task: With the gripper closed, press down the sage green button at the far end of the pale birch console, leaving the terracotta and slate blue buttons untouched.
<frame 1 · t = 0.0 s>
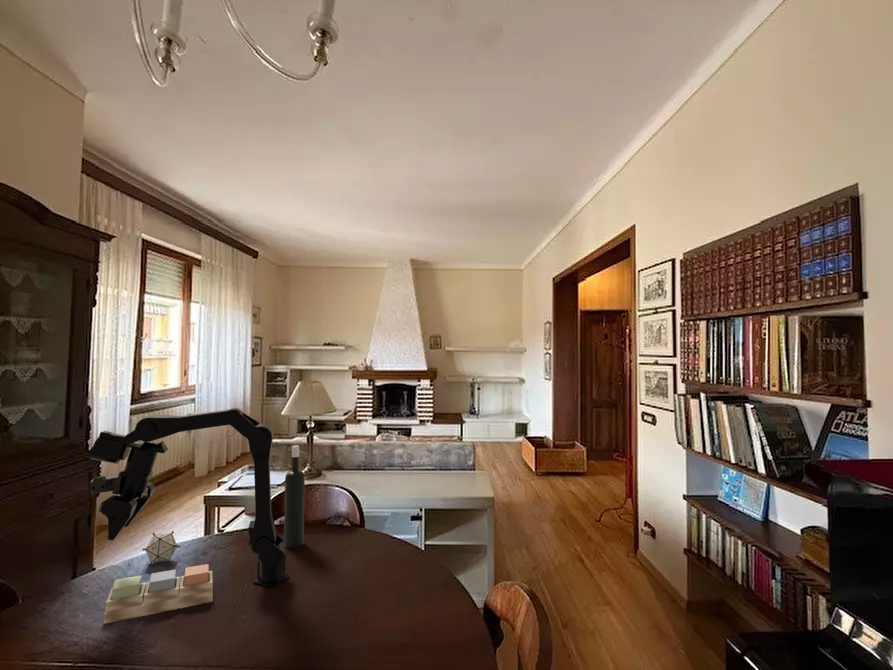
hand: (118, 532, 113), 15 cm above the table, tool pointing down, fingers open, 9 cm apart
slate button: (162, 582, 111), point 5 cm above the table, slide at 0.0 cm
terracotta button: (196, 576, 114), point 5 cm above the table, slide at 0.0 cm
console: (162, 603, 111), on the table
sage button: (127, 588, 108), point 5 cm above the table, slide at 0.0 cm
game die: (161, 563, 133), on the table
wine bottle: (293, 545, 146), on the table
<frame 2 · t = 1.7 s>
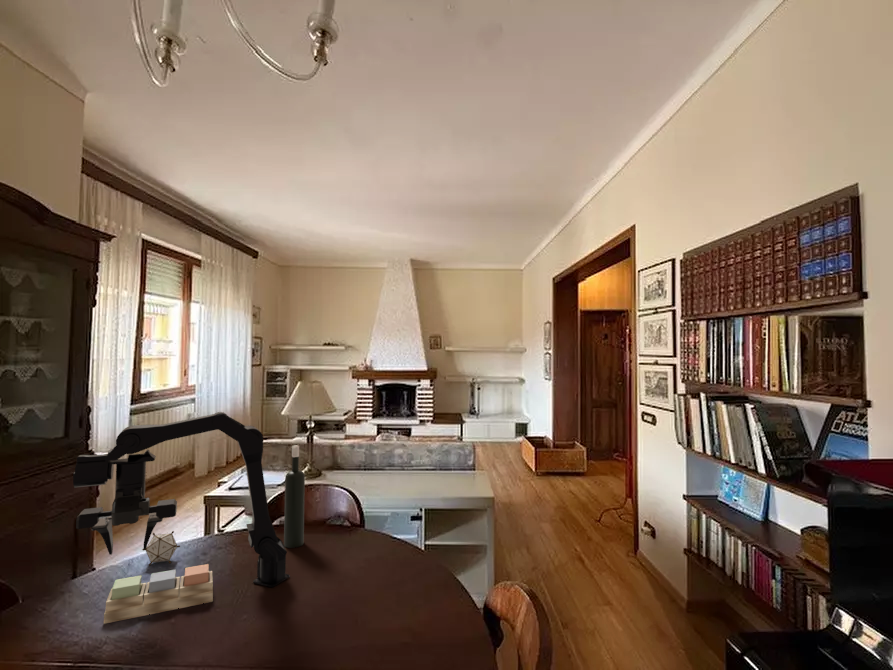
hand: (128, 551, 108), 13 cm above the table, tool pointing down, fingers open, 6 cm apart
nothing on the table moved.
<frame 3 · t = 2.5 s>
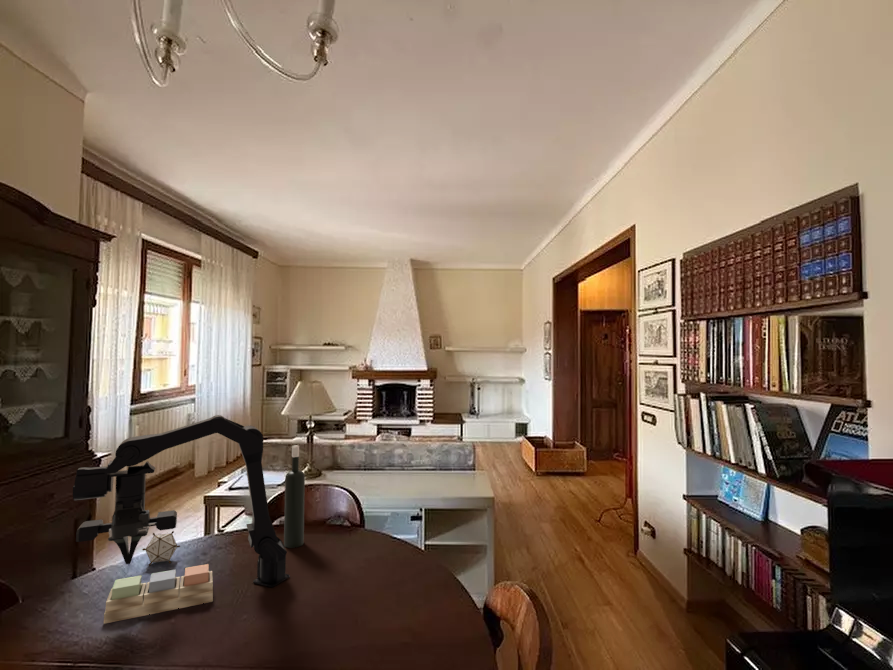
hand: (128, 563, 108), 10 cm above the table, tool pointing down, fingers closed
nothing on the table moved.
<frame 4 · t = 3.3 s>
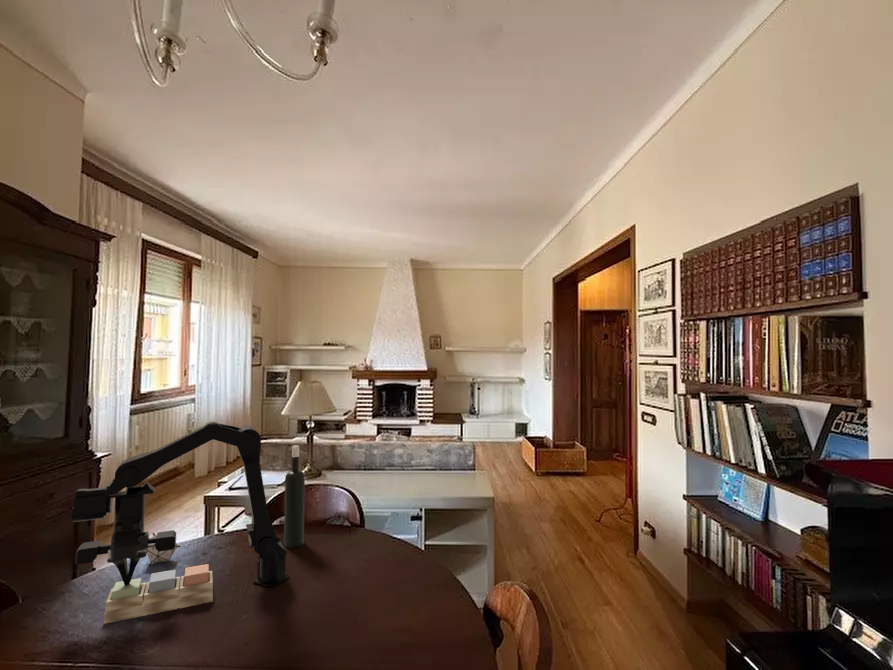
hand: (127, 584, 108), 6 cm above the table, tool pointing down, fingers closed, pressing on sage button
sage button: (126, 591, 108), point 4 cm above the table, slide at 0.6 cm, touching gripper
everything else where it was.
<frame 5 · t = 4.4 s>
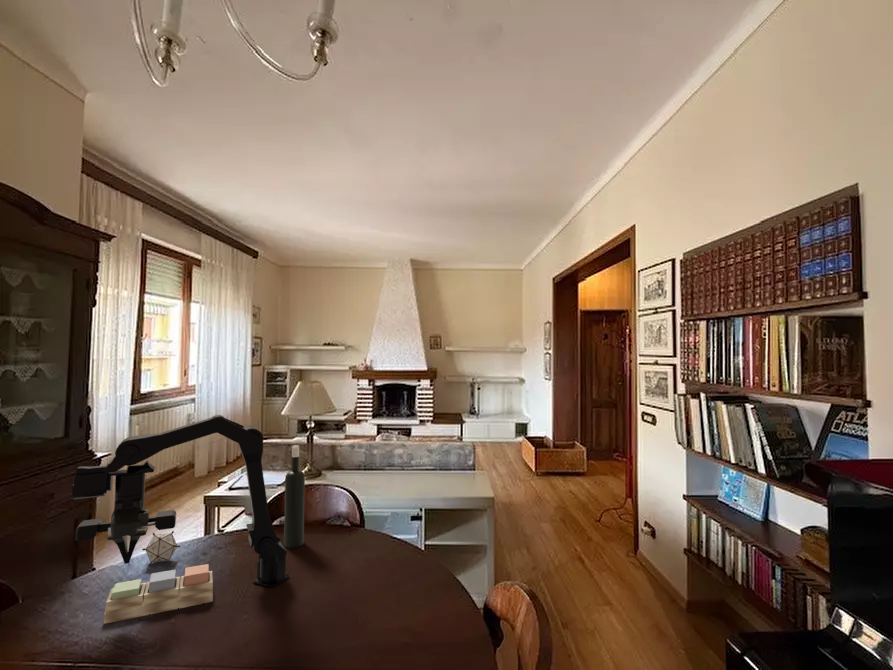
hand: (127, 562, 108), 10 cm above the table, tool pointing down, fingers closed
sage button: (126, 592, 108), point 4 cm above the table, slide at 0.8 cm
everything else where it was.
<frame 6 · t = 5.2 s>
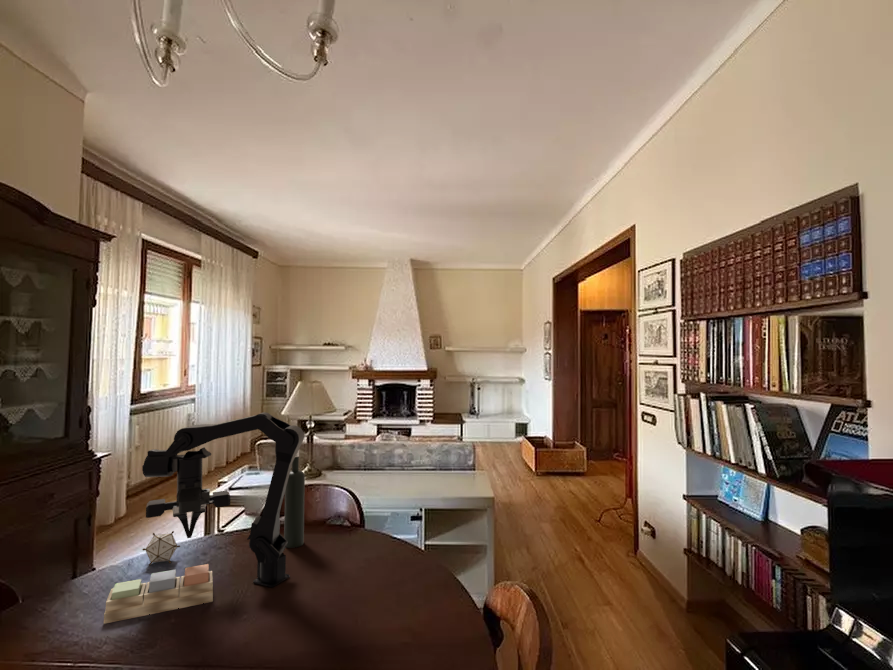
hand: (189, 537, 121), 11 cm above the table, tool pointing down, fingers closed
nothing on the table moved.
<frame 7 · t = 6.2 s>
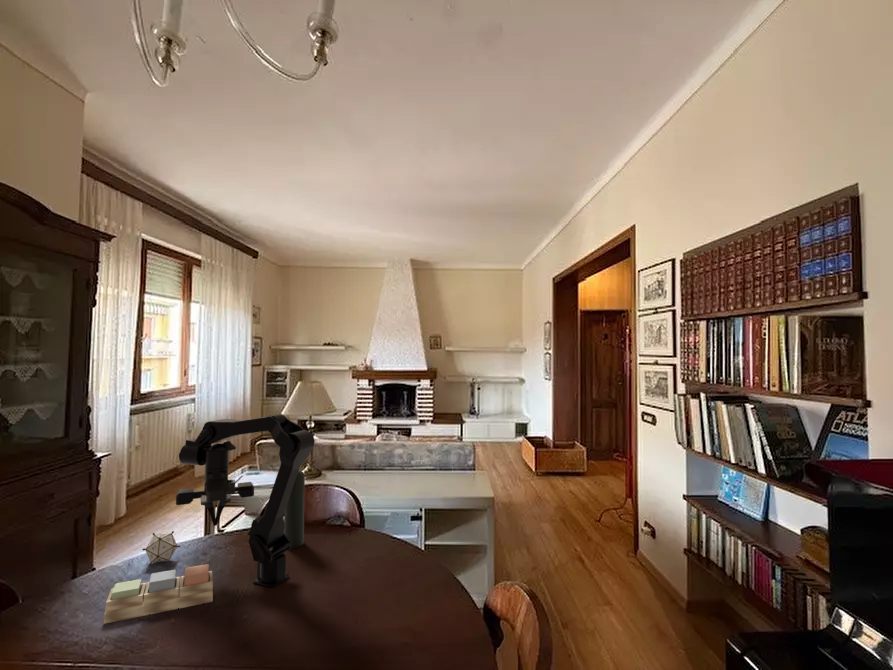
hand: (215, 525, 128), 12 cm above the table, tool pointing down, fingers closed
nothing on the table moved.
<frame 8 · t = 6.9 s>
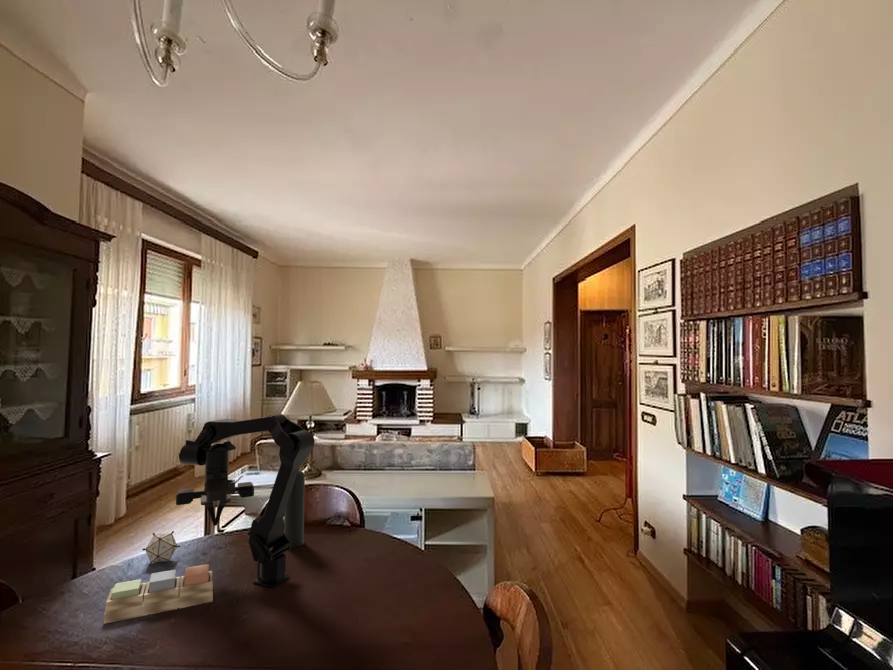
hand: (215, 525, 128), 12 cm above the table, tool pointing down, fingers closed
nothing on the table moved.
at the end: sage button slide at 0.8 cm; terracotta button slide at 0.0 cm; slate button slide at 0.0 cm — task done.
